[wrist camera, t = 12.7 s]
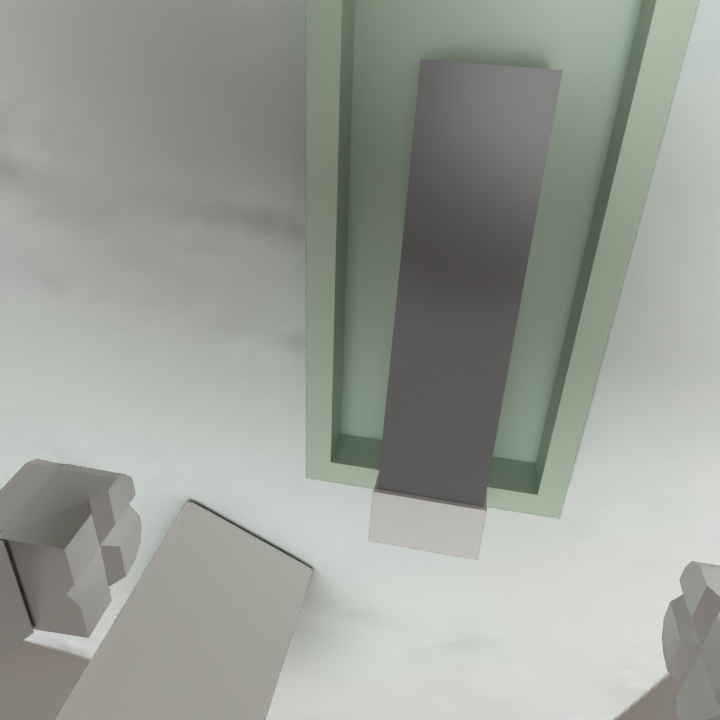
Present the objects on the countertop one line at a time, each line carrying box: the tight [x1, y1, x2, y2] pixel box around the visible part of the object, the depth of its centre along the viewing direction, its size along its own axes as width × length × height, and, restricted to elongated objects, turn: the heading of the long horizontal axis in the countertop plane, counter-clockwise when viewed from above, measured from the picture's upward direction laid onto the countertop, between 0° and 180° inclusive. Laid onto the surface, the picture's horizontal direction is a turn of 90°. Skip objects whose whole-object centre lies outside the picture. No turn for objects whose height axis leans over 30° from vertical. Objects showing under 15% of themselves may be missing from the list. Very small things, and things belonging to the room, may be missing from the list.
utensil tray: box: [306, 0, 699, 519], centre depth 22 cm, size 10×21×2 cm, turn 178°
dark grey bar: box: [369, 59, 563, 560], centre depth 21 cm, size 15×4×4 cm, turn 177°
